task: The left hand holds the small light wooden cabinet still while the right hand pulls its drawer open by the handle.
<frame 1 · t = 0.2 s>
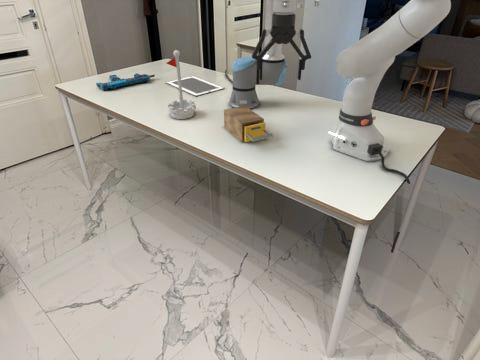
left hand: (279, 79, 121), 28 cm above the table, tool pointing down, fingers open, 13 cm apart
right hand: (308, 6, 134), 48 cm above the table, tool pointing down, fingers open, 8 cm apart
submachine gun: (125, 82, 210), on the table
tablet: (194, 86, 203), on the table
cabinet: (243, 132, 149), on the table
flag stand: (182, 114, 165), on the table
drawer: (249, 128, 142), point 4 cm above the table, slide at 1.1 cm
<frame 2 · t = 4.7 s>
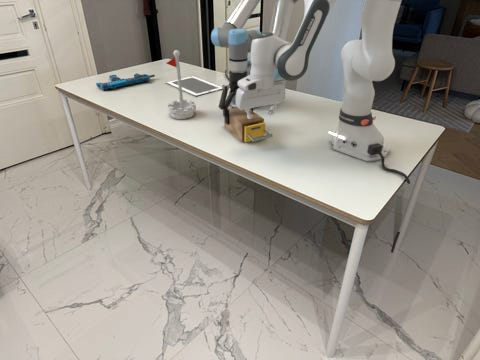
left hand: (238, 121, 150), 3 cm above the table, tool pointing down, fingers closed on cabinet, 10 cm apart
right hand: (260, 116, 132), 13 cm above the table, tool pointing down, fingers open, 8 cm apart
cabinet: (243, 132, 149), on the table, touching left hand
everything else where it was.
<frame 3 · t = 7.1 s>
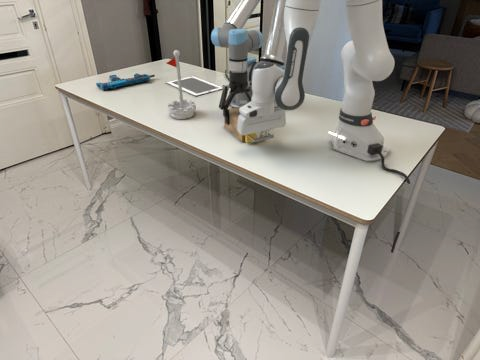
left hand: (238, 121, 150), 3 cm above the table, tool pointing down, fingers closed on cabinet, 10 cm apart
right hand: (261, 140, 136), 3 cm above the table, tool pointing down, fingers closed, pressing on drawer
cabinet: (243, 132, 149), on the table, touching left hand
drawer: (250, 128, 142), point 4 cm above the table, slide at 1.8 cm, touching right hand
everything else where it was.
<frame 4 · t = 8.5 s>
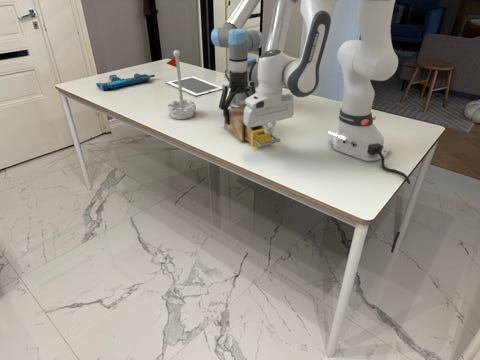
left hand: (238, 121, 150), 3 cm above the table, tool pointing down, fingers closed on cabinet, 10 cm apart
right hand: (268, 132, 130), 8 cm above the table, tool pointing down, fingers closed
cabinet: (243, 132, 149), on the table, touching left hand
drawer: (256, 132, 138), point 4 cm above the table, slide at 6.4 cm
everything else where it was.
when the left hand's fingers open (3 cm above the table, at t = 9.5 s): cabinet stays where it is, on the table.
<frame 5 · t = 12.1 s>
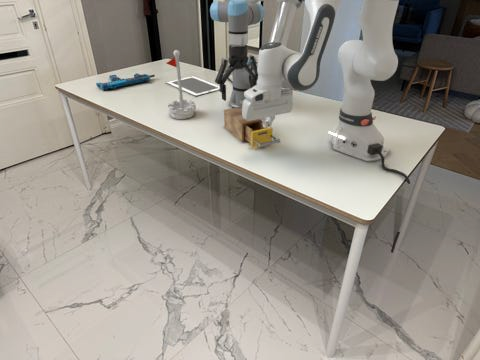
left hand: (238, 97, 144), 14 cm above the table, tool pointing down, fingers open, 13 cm apart
right hand: (267, 126, 129), 10 cm above the table, tool pointing down, fingers closed
cabinet: (243, 132, 149), on the table
everything else where it was.
at the end: drawer slide at 6.4 cm; cabinet tilted 0°; cabinet never tilted more than 1° during the clip; cabinet moved 0.1 cm from its start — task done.
